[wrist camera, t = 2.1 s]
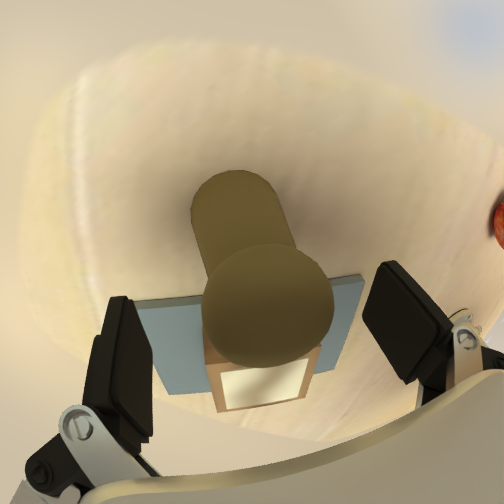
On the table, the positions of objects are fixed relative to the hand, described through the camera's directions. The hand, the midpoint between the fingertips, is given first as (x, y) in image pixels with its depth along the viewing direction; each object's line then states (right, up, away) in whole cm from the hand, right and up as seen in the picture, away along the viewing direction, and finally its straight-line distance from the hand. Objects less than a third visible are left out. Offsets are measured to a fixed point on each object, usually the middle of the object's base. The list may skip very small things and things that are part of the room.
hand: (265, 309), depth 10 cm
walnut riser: (0, -7, +15) cm, 17 cm away
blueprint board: (0, -7, +16) cm, 17 cm away
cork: (-2, +5, +9) cm, 10 cm away
